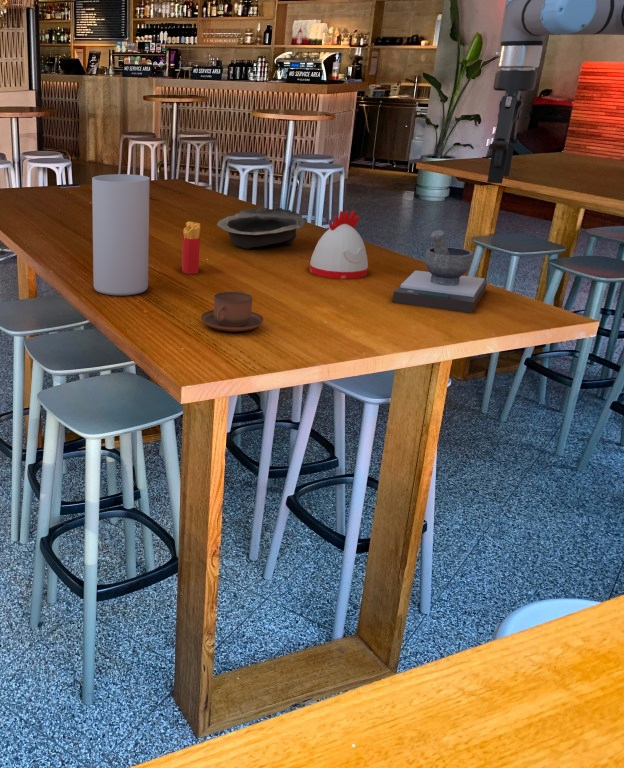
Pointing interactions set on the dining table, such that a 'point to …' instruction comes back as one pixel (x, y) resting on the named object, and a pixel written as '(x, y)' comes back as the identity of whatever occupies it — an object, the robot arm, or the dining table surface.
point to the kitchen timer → (340, 250)
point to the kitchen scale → (440, 292)
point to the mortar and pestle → (446, 261)
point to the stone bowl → (262, 227)
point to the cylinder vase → (120, 234)
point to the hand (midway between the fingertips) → (498, 179)
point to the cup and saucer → (232, 313)
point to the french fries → (190, 248)
